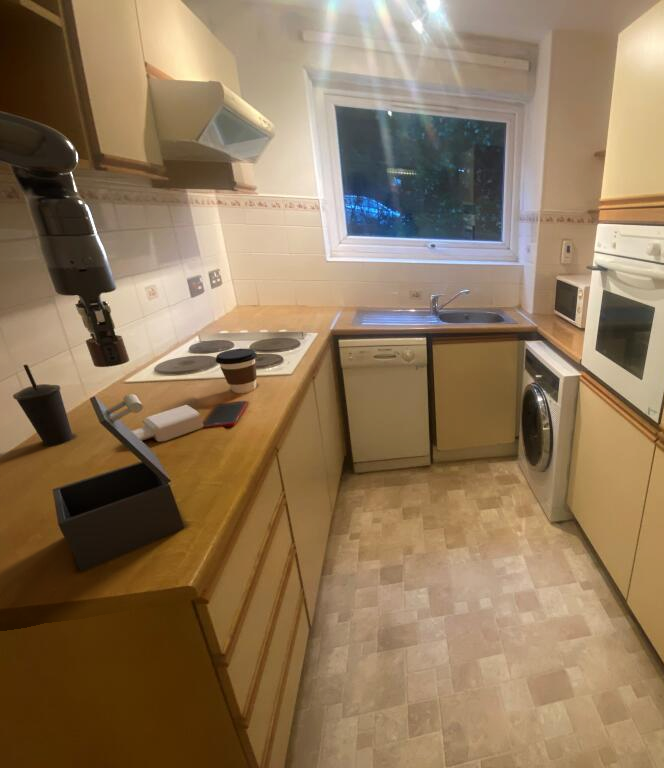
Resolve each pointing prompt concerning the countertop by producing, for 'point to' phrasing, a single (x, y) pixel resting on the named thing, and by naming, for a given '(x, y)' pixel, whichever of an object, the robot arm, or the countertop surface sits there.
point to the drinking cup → (45, 411)
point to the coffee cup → (239, 369)
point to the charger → (170, 424)
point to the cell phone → (225, 414)
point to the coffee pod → (96, 352)
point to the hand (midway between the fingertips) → (111, 360)
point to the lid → (128, 431)
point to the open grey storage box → (115, 513)
